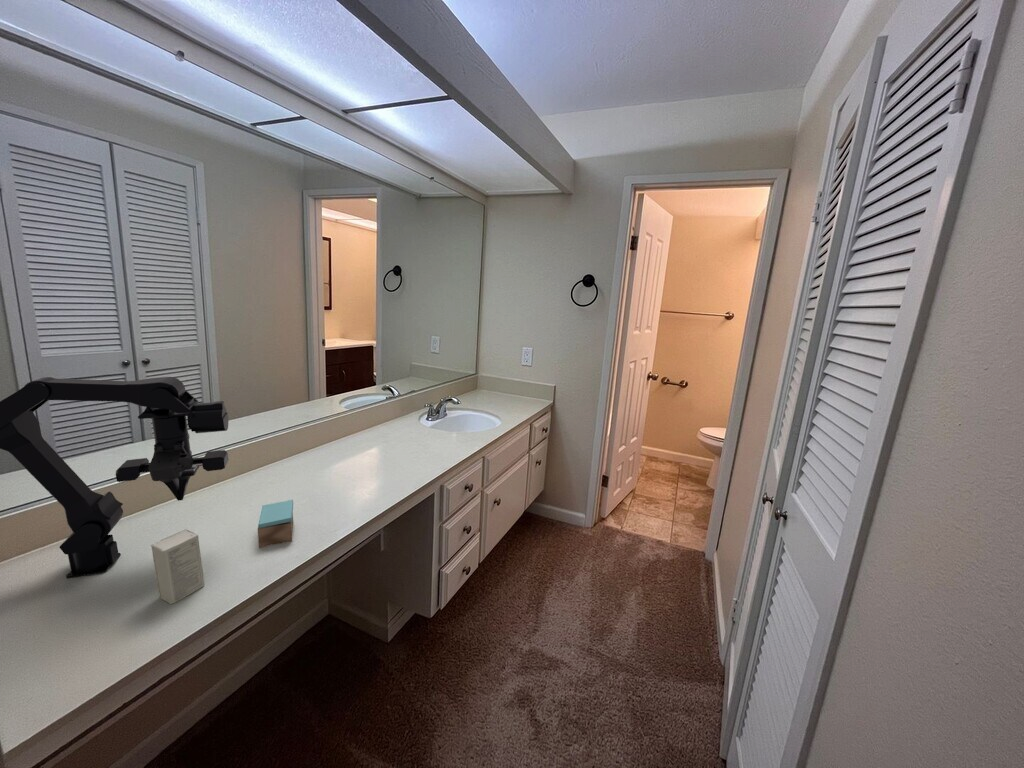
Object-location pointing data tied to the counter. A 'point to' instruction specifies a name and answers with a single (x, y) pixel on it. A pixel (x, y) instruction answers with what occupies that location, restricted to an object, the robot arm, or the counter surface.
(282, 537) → the case
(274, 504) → the lid
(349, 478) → the counter surface
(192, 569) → the skincare box
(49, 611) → the counter surface
